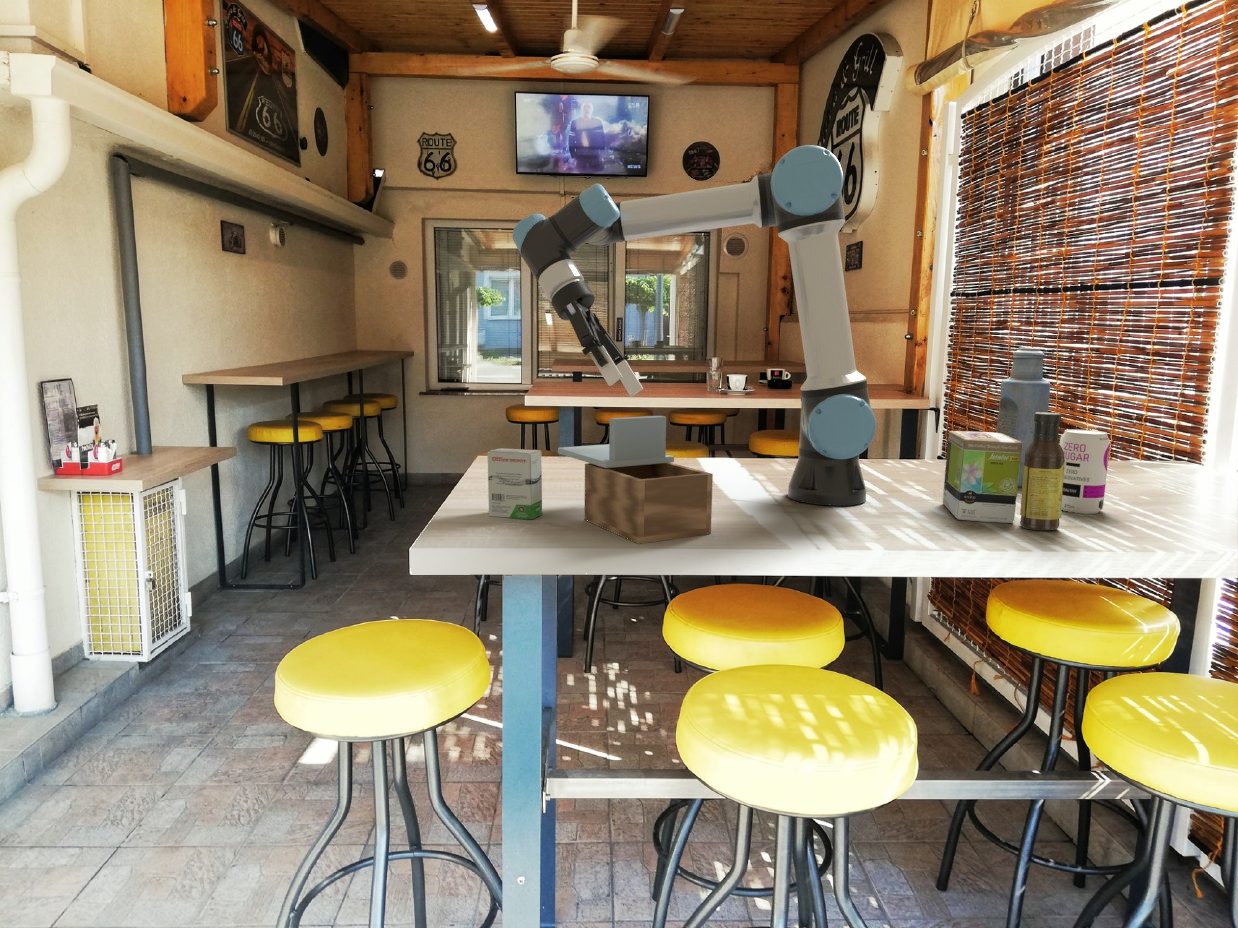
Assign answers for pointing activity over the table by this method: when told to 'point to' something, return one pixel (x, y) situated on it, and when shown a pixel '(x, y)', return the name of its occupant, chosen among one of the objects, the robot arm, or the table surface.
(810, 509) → the table surface
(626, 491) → the crate
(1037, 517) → the sauce bottle
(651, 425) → the lid
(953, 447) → the tea box
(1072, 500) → the supplement can
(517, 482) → the ink box
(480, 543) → the table surface
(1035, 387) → the bottle
